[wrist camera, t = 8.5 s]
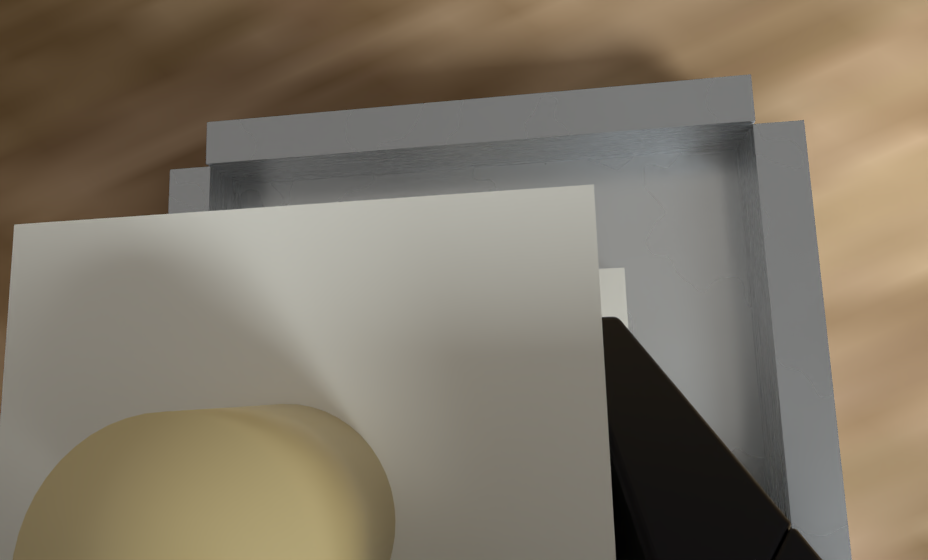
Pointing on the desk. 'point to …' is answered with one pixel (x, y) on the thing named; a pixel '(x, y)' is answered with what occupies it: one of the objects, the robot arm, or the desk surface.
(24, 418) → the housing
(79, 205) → the desk surface
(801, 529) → the grey flat slab
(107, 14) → the desk surface
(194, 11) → the desk surface
